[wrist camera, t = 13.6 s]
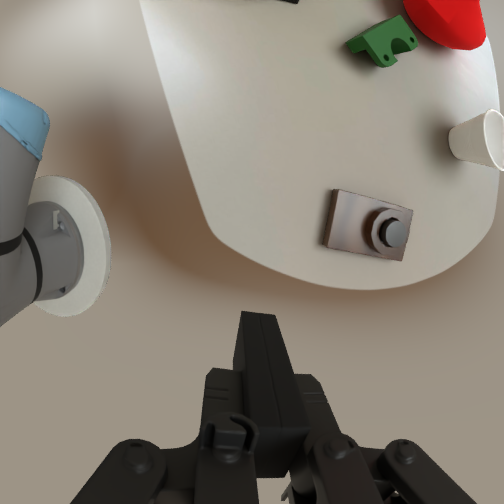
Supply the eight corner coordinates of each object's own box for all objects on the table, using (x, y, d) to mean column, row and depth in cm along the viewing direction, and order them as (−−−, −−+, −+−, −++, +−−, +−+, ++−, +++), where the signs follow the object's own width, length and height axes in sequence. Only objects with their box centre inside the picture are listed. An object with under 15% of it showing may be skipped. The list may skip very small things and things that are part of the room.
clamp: (359, 71, 36) (377, 74, 29) (339, 44, 34) (353, 40, 27) (408, 44, 31) (433, 44, 24) (389, 17, 28) (411, 11, 21)
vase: (467, 71, 32) (530, 50, 13) (399, 41, 31) (464, -4, 12) (446, 8, 28) (494, -21, 9) (380, -22, 27) (422, -69, 8)
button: (376, 242, 35) (382, 245, 33) (382, 216, 34) (388, 218, 33) (396, 246, 35) (403, 249, 34) (402, 222, 35) (409, 223, 33)
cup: (478, 147, 36) (518, 146, 25) (460, 181, 37) (504, 184, 27) (452, 107, 34) (492, 97, 23) (432, 139, 35) (476, 132, 25)
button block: (322, 244, 38) (331, 250, 34) (333, 189, 37) (343, 189, 33) (394, 257, 40) (408, 264, 36) (405, 209, 38) (420, 211, 34)
